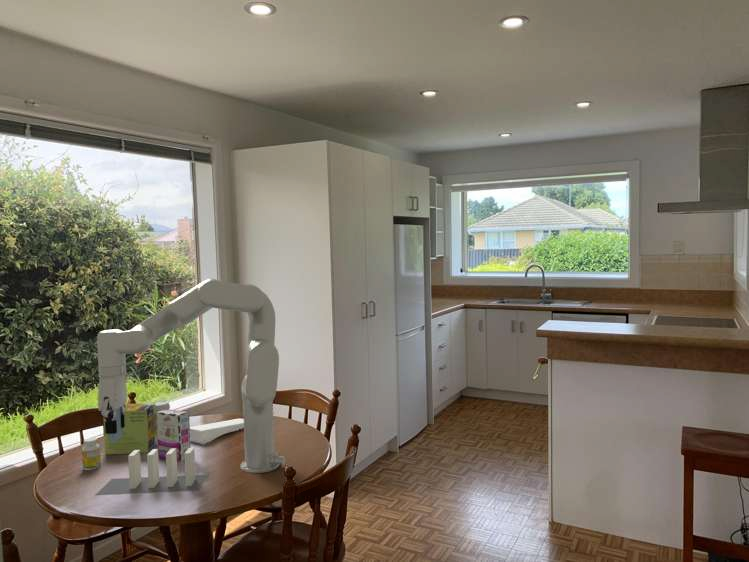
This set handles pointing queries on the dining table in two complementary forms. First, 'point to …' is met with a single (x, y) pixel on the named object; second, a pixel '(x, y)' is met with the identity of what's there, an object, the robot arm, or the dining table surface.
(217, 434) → the wall bracket
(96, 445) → the supplement bottle
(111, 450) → the protein box
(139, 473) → the domino
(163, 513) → the dining table surface
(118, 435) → the domino placed
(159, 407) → the coffee cup
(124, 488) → the mat
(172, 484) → the domino
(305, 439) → the dining table surface
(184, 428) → the candy bar box
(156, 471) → the domino
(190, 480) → the domino
